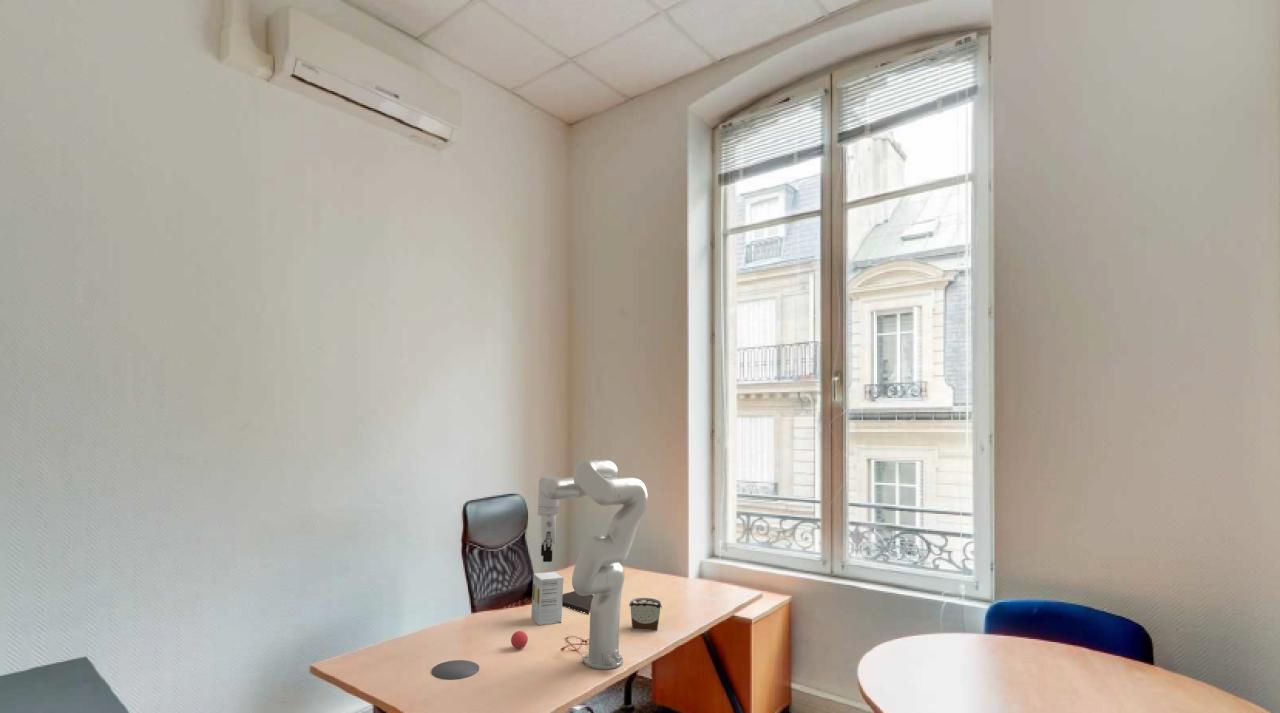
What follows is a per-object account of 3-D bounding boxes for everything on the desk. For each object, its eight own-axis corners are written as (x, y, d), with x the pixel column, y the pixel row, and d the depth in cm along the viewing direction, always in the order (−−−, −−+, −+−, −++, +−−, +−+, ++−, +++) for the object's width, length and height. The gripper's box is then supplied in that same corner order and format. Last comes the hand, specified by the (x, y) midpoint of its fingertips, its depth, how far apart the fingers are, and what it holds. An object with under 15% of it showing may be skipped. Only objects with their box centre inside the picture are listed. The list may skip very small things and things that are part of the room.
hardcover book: (577, 595, 280) (577, 590, 280) (616, 607, 265) (616, 601, 265) (549, 603, 267) (549, 597, 268) (588, 616, 252) (588, 610, 253)
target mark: (485, 673, 193) (485, 673, 193) (438, 682, 186) (438, 682, 186) (471, 657, 205) (471, 657, 205) (426, 665, 198) (426, 665, 198)
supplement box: (530, 618, 246) (532, 573, 247) (553, 615, 250) (555, 571, 251) (538, 626, 237) (540, 579, 239) (562, 623, 241) (564, 577, 243)
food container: (662, 625, 242) (663, 598, 243) (661, 631, 236) (662, 603, 237) (629, 623, 243) (630, 596, 244) (628, 629, 237) (629, 601, 238)
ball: (529, 649, 214) (530, 632, 214) (514, 652, 211) (514, 635, 211) (523, 644, 218) (524, 627, 219) (508, 646, 216) (509, 630, 216)
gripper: (560, 514, 228) (559, 563, 226) (556, 507, 245) (554, 553, 243) (539, 514, 226) (537, 564, 225) (536, 507, 243) (534, 553, 241)
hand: (546, 558), depth 234 cm, fingers open, 9 cm apart
